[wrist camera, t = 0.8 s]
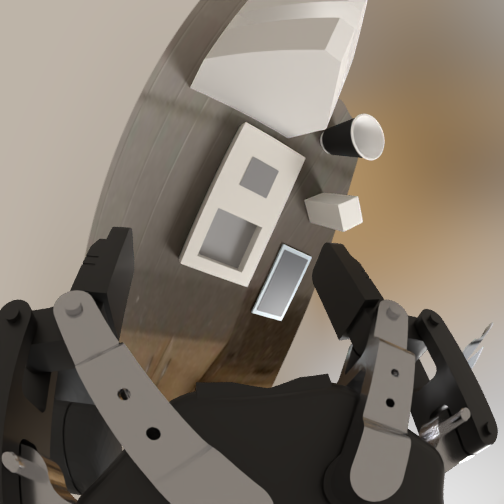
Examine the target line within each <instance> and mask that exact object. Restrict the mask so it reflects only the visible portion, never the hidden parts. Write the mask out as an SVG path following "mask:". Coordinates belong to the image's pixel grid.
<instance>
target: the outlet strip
mask: <svg viewBox="0 0 504 504" xmlns="http://www.w3.org/2000/svg"><path fill="white" fill-rule="evenodd" d="M304 161H305V157H303V156H302V155H300V154H299V153H297V152H295V151H294V150H292V149H291V148H289V147H288V146H286V145H284V144H283V143H281V142H279V141H278V140H276V139H274V138H273V137H271V136H269V135H268V134H266V133H264V132H263V131H261V130H259V129H257V128H256V127H254V126H252V125H250V124H249V123H247V122H245V123H243V124H242V125H240V126H239V128H238V130H237V132H236V134H235V136H234V137H233V139H232V141H231V143H230V145H229V147H228V149H227V151H226V153H225V155H224V157H223V159H222V162H221V164H220V166H219V168H218V170H217V172H216V174H215V176H214V178H213V180H212V182H211V185H210V187H209V189H208V191H207V193H206V195H205V198H204V200H203V202H202V204H201V206H200V209H199V211H198V213H197V215H196V218H195V220H194V222H193V225H192V227H191V229H190V232H189V234H188V236H187V239H186V241H185V243H184V246H183V248H182V251H181V253H180V256H179V261H180V263H181V264H184V265H186V266H189V267H192V268H195V269H197V270H200V271H203V272H206V273H208V274H211V275H214V276H217V277H220V278H223V279H225V280H228V281H231V282H234V283H237V284H240V285H243V286H246V287H248V284H249V282H250V280H251V278H252V276H253V274H254V271H255V269H256V267H257V265H258V263H259V261H260V258H261V256H262V254H263V252H264V250H265V247H266V245H267V243H268V241H269V239H270V236H271V234H272V232H273V230H274V228H275V225H276V223H277V221H278V219H279V216H280V214H281V212H282V210H283V208H284V205H285V203H286V201H287V199H288V196H289V194H290V192H291V190H292V188H293V185H294V183H295V181H296V179H297V176H298V174H299V172H300V170H301V167H302V165H303V163H304Z"/></svg>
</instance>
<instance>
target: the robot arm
mask: <svg viewBox="0 0 504 504" xmlns="http://www.w3.org/2000/svg"><path fill="white" fill-rule="evenodd" d="M133 273H134V252H133V236H132V229H131V228H125V227H113V228H112V229H111V231H110V233H109V235H108V237H107V239H99V240H98V241H97V242H95V243H94V244H93V245H92V246H91V247H90V249H89V251H88V253H87V255H86V257H85V259H84V261H83V265H82V266H81V268H80V270H79V272H78V274H77V277H76V279H75V281H74V283H73V285H72V288H71V290H70V292H67V293H65V294H63V295H62V296H60V297H59V298H58V299H57V301H56V303H55V305H54V307H51V308H46V309H40V310H34V311H32V310H31V308H30V306H29V304H28V303H27V302H25V301H23V300H13V301H11V302H9V303H7V304H6V305H5V306H4V307H3V308H2V309H1V310H0V504H444V500H443V486H444V475H445V473H446V472H447V471H449V470H450V469H452V468H453V467H454V466H456V465H457V464H459V463H461V462H463V461H465V460H467V459H469V458H471V457H473V456H474V455H476V454H477V453H478V452H480V451H482V450H483V449H485V448H487V447H488V446H490V445H492V444H493V443H494V442H495V441H496V438H497V433H498V430H497V424H496V422H495V419H494V417H493V414H492V412H491V410H490V407H489V405H488V403H487V401H486V398H485V396H484V394H483V392H482V390H481V388H480V385H479V384H478V381H477V380H476V377H475V375H474V373H473V372H472V370H471V368H470V366H469V364H468V362H467V360H466V358H465V357H464V355H463V353H462V352H461V350H460V348H459V346H458V344H457V343H456V341H455V339H454V338H453V336H452V334H451V333H450V331H449V330H448V328H447V326H446V325H445V323H444V321H443V320H442V318H441V317H440V316H439V315H438V314H437V313H435V312H434V311H432V310H429V309H424V310H423V311H422V312H421V313H420V315H419V316H418V317H417V318H416V317H412V316H408V315H407V313H406V311H405V310H404V309H403V307H402V306H400V305H399V304H398V303H396V302H394V301H391V300H384V299H383V297H382V296H381V294H380V293H379V291H378V289H377V288H376V286H375V285H374V284H373V282H372V281H371V279H369V276H368V274H367V273H366V272H365V270H364V269H363V267H362V266H361V264H360V263H359V262H358V261H357V260H356V259H354V258H353V257H352V256H351V255H350V254H349V252H348V251H347V249H346V248H345V247H344V245H343V244H338V243H325V244H324V245H323V247H322V250H321V252H320V255H319V257H318V260H317V262H316V264H315V267H314V269H313V273H312V280H313V284H314V286H315V288H316V290H317V293H318V295H319V297H320V299H321V301H322V303H323V305H324V308H325V310H326V312H327V314H328V316H329V319H330V321H331V323H332V325H333V328H334V330H335V332H336V334H337V337H338V339H339V340H346V339H350V340H351V342H352V344H351V346H350V347H349V350H348V353H347V356H346V360H345V363H344V366H343V369H342V372H341V375H340V378H339V380H338V382H337V384H336V383H331V381H330V378H329V376H328V374H323V375H316V376H308V377H300V378H297V379H294V380H292V381H289V382H286V383H283V384H281V385H278V386H275V387H272V388H262V387H255V386H249V385H244V384H238V383H233V382H220V383H199V382H196V391H195V392H191V393H187V394H184V395H182V396H179V397H177V398H175V399H173V400H171V401H170V402H168V401H167V400H166V398H165V397H164V396H163V395H162V393H161V392H160V391H159V390H158V389H157V387H156V386H155V385H154V383H153V382H152V381H151V380H150V378H149V377H148V376H147V374H146V373H145V372H144V370H143V369H142V368H141V366H140V365H139V364H138V362H137V361H136V359H135V358H134V357H133V355H132V354H131V352H130V351H129V349H128V348H127V347H126V345H125V344H124V343H119V342H118V341H119V338H120V333H121V327H122V322H123V317H124V312H125V308H126V303H127V299H128V294H129V290H130V286H131V282H132V278H133ZM427 349H428V351H429V353H430V355H431V357H432V359H433V361H434V363H435V365H436V368H437V372H436V375H435V376H434V378H433V379H431V380H429V378H428V376H427V374H426V372H425V370H424V368H423V366H422V364H421V362H420V360H419V358H420V357H421V356H422V355H423V354H424V353H425V352H426V350H427ZM410 411H411V414H412V417H413V419H414V422H415V425H416V427H417V430H418V433H419V436H418V435H416V434H415V433H413V432H412V431H411V430H409V429H408V423H409V417H410ZM122 446H123V447H124V450H123V451H122ZM70 493H72V494H78V495H81V496H80V498H79V499H78V501H77V500H76V499H75V498H74V497H73V496H72V495H71V494H70Z"/></svg>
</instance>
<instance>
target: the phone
mask: <svg viewBox="0 0 504 504" xmlns="http://www.w3.org/2000/svg"><path fill="white" fill-rule="evenodd" d="M311 258H312V257H310V256H308V255H306V254H304V253H302V252H300V251H297V250H295V249H293V248H291V247H289V246H286V245H284V244H282V247H281V249H280V251H279V253H278V255H277V257H276V260H275V262H274V264H273V266H272V268H271V271H270V273H269V275H268V277H267V279H266V281H265V284H264V286H263V288H262V290H261V292H260V294H259V296H258V298H257V301H256V303H255V305H254V307H253V309H252V311H251V312H252V313H254V314H258V315H262V316H265V317H269V318H273V319H276V320H280V321H282V319H283V317H284V315H285V313H286V311H287V309H288V307H289V305H290V303H291V301H292V299H293V296H294V294H295V292H296V290H297V288H298V286H299V284H300V282H301V280H302V278H303V275H304V273H305V271H306V269H307V267H308V265H309V262H310V260H311Z"/></svg>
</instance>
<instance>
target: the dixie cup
mask: <svg viewBox="0 0 504 504" xmlns="http://www.w3.org/2000/svg"><path fill="white" fill-rule="evenodd" d="M320 144H321V146H322V148H323V150H324V151H325V152H327V153H329V154H332V155H339V156H350V157H360V158H365V159H367V160H375V159H377V158H378V157H379V156H380V155H381V153H382V152H383V148H384V134H383V130H382V128H381V126H380V124H379V123H378V121H377V120H376V119H375V118H374V117H372V116H371V115H368V114H360V115H358V116H357V117H356V118H353V119H351V120H348V121H346V122H343V123H341V124H338V125H336V126H333V127H331V128H328V129H327V130H325V131H324V132H323V133H322V135H321V137H320Z"/></svg>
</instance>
